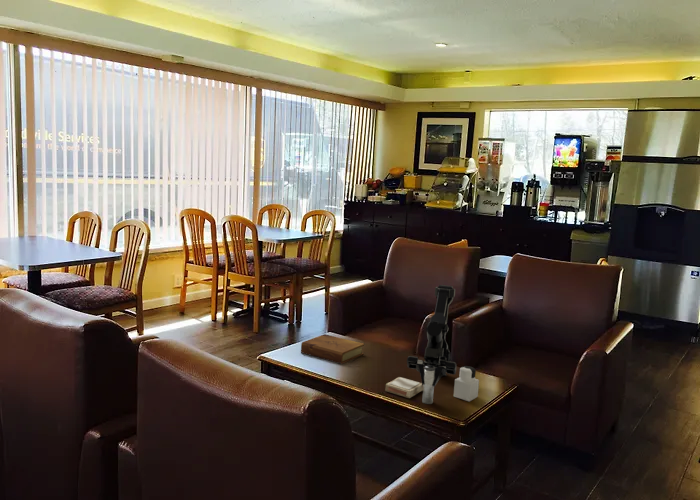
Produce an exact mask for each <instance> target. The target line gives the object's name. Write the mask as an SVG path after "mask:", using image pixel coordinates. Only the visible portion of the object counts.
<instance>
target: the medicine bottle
mask: <svg viewBox="0 0 700 500" xmlns="http://www.w3.org/2000/svg"><path fill="white" fill-rule="evenodd" d="M479 384H480V380H479V379H477V378H476V368H474V367H472V366H470V365H469V366H468V365H464V366H461V367H460V368H459V377H457V378H455V379H454V384H453V385H454V386H453V397H454V398H457V399H461V400H463V401H466V402H471V401H473V400H475V399H476V398H478V397H479Z"/></svg>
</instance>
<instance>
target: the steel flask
mask: <svg viewBox="0 0 700 500" xmlns="http://www.w3.org/2000/svg"><path fill="white" fill-rule="evenodd" d="M435 369H436V367H435V366H433V365H425V366H424V384H423V390H422V397H421V399H422V400H421V402H422V403H423V404H426V405H432V404H433V403H434V400H433V399H434V390H435V387H434V380H435Z"/></svg>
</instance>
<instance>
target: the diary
mask: <svg viewBox="0 0 700 500" xmlns="http://www.w3.org/2000/svg"><path fill="white" fill-rule="evenodd" d="M364 346H365V343H362V342H359V341H354V340H351V339H346V338H343V337H339V336H335V335H330V334H326V333H324V334H322V335H319V336H315V337H312V338H310V339H306V340H304V341H302V342H301V344H300V353H301V354H304V355H308V356H311V357H315V358H320V359H322V360H327V361H330V362H334V363H338V364H341V365H342V364H345V363H347V362H349V361H352V360H353V359H356V358H359V357H360V356H363V355H364V352H363V347H364Z"/></svg>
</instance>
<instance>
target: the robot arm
mask: <svg viewBox="0 0 700 500" xmlns="http://www.w3.org/2000/svg"><path fill="white" fill-rule="evenodd" d="M434 296H435V297H436V298H435V299H436V304H435V310H434V314H433V315H431V317H430V321H429V322H427V326H426V329H425V330H426V336H427V337H426V338H427V340H428V341H427V345H426V347H425V349H424V354H423V355H424V356H423V359H419V357H418V356H413V355H408V357H407V359H406V364H407V368H408V369H412V370H416V372H419V375H420V379H421V383H422V385H423V384H424V370H425V369H424V366H425V365H433V366H435V367H436V369H435V379H434V388H435V387H436V386H437V384H438V382H439V380H441V378H442V377H448V375H453V376H454V375H456V374H457V362H455V361H451V352H450V349H449V345H448V343H447V341H446V335H447V334H448V331H449V326H448V324H447V323H448V315H449V306H450V305H451V303H453V300H454V298H455V296H456V288H454V286H453V285H447V284H446V285H445V284H439V285H438V286H436V287H435V288H434Z"/></svg>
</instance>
